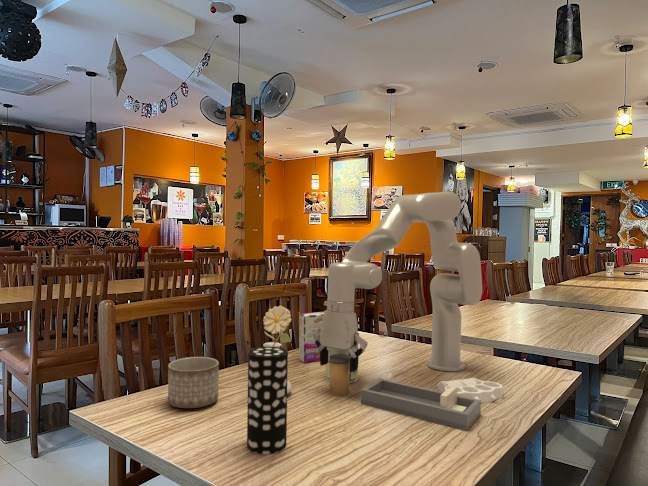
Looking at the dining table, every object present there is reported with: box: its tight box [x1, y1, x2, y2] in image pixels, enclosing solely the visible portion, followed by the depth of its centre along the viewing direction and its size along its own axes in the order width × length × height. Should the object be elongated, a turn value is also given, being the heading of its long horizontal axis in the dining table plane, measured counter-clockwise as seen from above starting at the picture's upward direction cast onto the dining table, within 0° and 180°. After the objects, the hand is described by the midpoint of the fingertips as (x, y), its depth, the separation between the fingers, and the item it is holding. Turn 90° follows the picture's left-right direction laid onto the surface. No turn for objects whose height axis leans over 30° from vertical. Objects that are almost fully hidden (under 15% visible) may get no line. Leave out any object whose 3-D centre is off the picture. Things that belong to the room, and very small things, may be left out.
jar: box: [328, 354, 350, 397], centre depth 131 cm, size 6×6×10 cm
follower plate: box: [440, 386, 467, 412], centre depth 115 cm, size 8×4×5 cm, turn 147°
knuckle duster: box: [437, 377, 504, 404], centre depth 131 cm, size 3×18×15 cm
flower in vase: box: [262, 305, 293, 394], centre depth 128 cm, size 13×11×25 cm
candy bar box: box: [298, 311, 324, 364], centre depth 163 cm, size 11×5×16 cm, turn 117°
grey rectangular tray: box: [360, 378, 482, 431], centre depth 120 cm, size 11×28×4 cm, turn 57°
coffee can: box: [324, 332, 360, 384], centre depth 143 cm, size 10×10×14 cm
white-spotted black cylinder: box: [246, 346, 289, 455], centre depth 99 cm, size 8×8×20 cm
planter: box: [167, 356, 220, 409], centre depth 122 cm, size 13×13×10 cm
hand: (338, 367), depth 131 cm, fingers open, 9 cm apart
